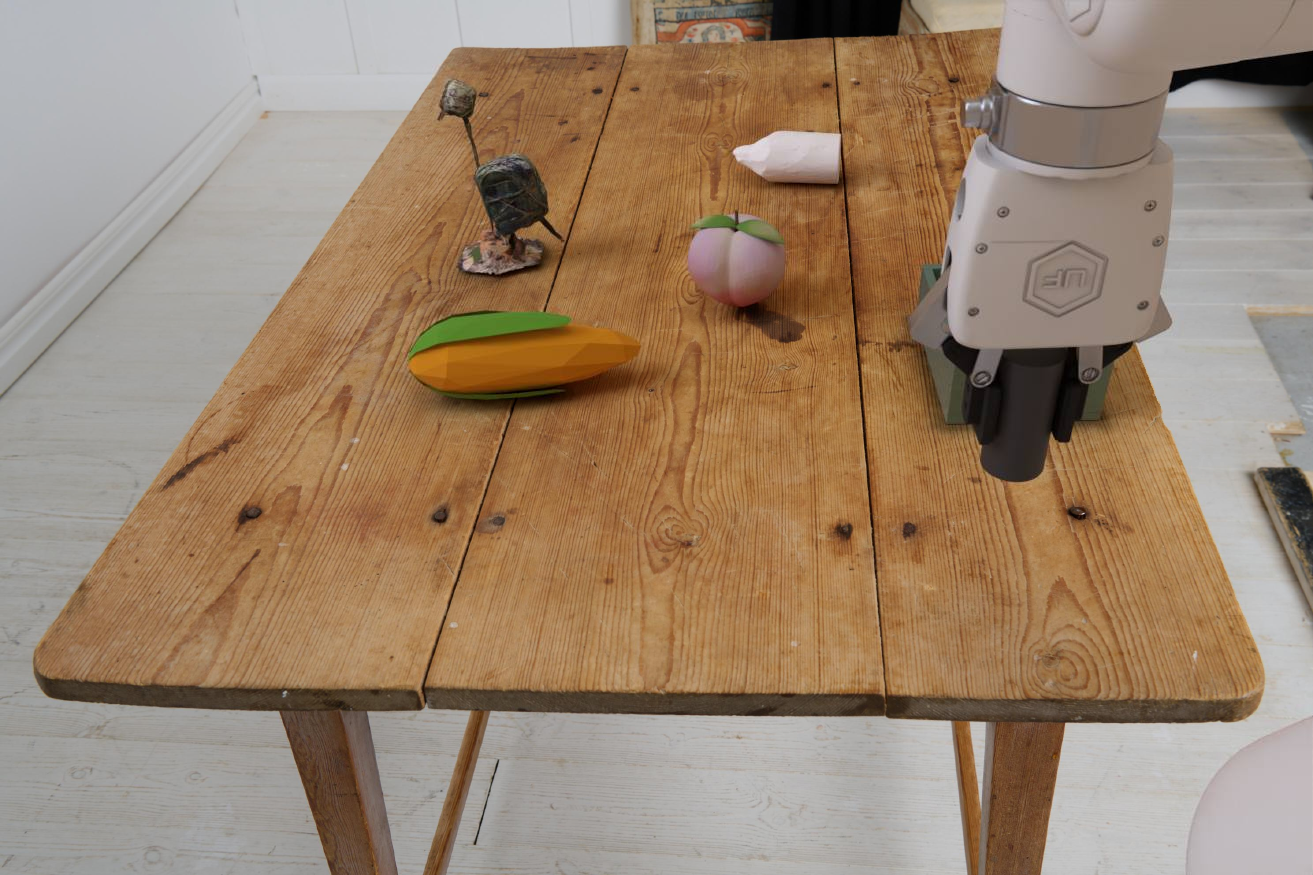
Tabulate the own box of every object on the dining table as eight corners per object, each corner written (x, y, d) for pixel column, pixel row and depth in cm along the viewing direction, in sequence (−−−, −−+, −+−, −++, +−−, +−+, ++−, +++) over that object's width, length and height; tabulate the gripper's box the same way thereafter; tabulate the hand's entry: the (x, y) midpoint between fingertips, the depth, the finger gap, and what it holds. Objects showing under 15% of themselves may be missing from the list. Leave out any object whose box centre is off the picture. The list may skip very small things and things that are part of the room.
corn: (404, 297, 91) (636, 279, 91) (423, 366, 97) (642, 349, 96) (392, 350, 86) (639, 332, 86) (413, 420, 91) (645, 403, 91)
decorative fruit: (795, 287, 104) (798, 192, 97) (777, 332, 98) (778, 235, 91) (702, 277, 106) (699, 184, 100) (679, 321, 100) (674, 225, 94)
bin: (1099, 420, 85) (1114, 360, 81) (946, 424, 86) (954, 365, 82) (1050, 315, 97) (1061, 259, 93) (915, 319, 98) (921, 264, 94)
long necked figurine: (548, 285, 107) (520, 90, 94) (446, 274, 110) (405, 84, 97) (575, 246, 113) (553, 58, 100) (478, 237, 116) (444, 53, 103)
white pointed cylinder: (737, 167, 125) (736, 121, 122) (840, 169, 123) (842, 123, 120) (730, 190, 121) (729, 143, 117) (837, 193, 119) (839, 145, 115)
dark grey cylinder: (1035, 443, 64) (1057, 329, 59) (1051, 481, 61) (1075, 365, 56) (974, 444, 64) (991, 332, 59) (986, 483, 61) (1005, 368, 56)
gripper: (906, 159, 47) (880, 475, 58) (1293, 140, 46) (1190, 466, 57) (883, 98, 53) (863, 396, 64) (1225, 80, 52) (1144, 386, 63)
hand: (1018, 426), depth 61 cm, fingers closed on dark grey cylinder, 3 cm apart
